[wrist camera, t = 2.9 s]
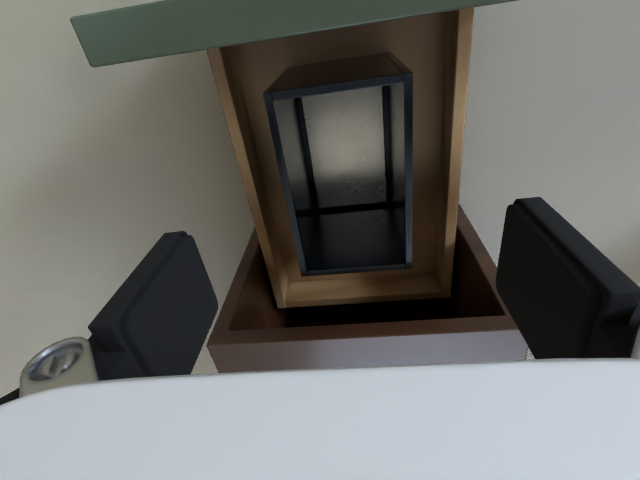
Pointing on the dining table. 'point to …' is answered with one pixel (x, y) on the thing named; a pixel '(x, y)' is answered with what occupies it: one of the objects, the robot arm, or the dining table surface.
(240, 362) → the cabinet
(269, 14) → the drawer
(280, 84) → the dark glass display case
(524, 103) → the dining table surface
